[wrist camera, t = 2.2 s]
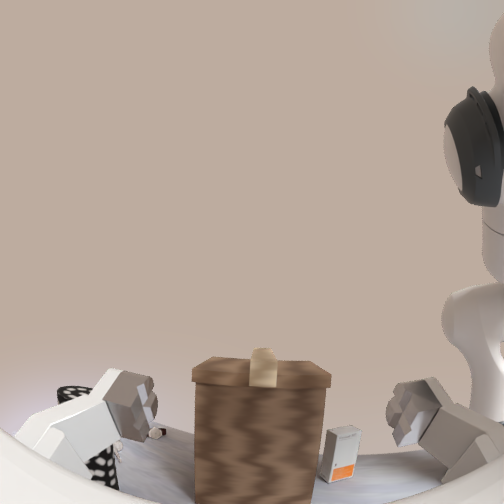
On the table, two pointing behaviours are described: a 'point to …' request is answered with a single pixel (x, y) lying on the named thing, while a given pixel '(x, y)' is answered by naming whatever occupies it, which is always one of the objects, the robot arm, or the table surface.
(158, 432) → the watch
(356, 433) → the skincare box
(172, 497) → the table surface
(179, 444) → the table surface
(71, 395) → the white-spotted black cylinder
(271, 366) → the rod
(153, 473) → the table surface
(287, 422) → the stand
